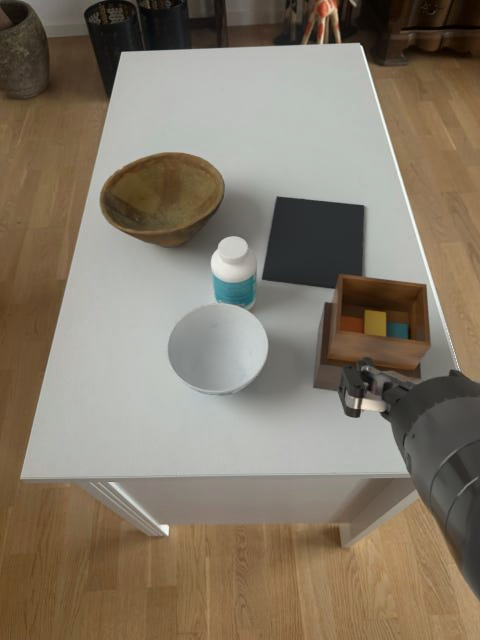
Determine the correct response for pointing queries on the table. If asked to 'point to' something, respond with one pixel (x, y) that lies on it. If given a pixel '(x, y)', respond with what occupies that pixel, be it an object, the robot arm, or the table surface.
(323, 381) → the stand
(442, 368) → the table surface
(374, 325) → the yellow rectangular block
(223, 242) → the pill bottle
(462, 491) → the robot arm
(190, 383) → the chinaware
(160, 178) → the bowl
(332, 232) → the mat
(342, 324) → the orange packet
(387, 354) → the wooden box
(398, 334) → the teal packet
